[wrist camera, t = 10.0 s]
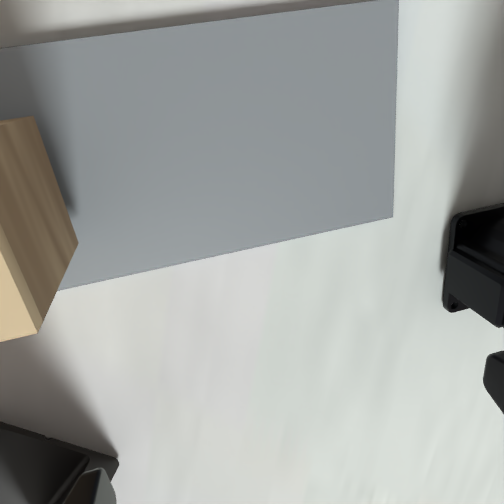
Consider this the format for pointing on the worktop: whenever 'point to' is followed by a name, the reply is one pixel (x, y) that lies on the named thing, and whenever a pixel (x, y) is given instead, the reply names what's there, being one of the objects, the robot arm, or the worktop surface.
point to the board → (213, 132)
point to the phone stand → (43, 466)
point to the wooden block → (29, 230)
